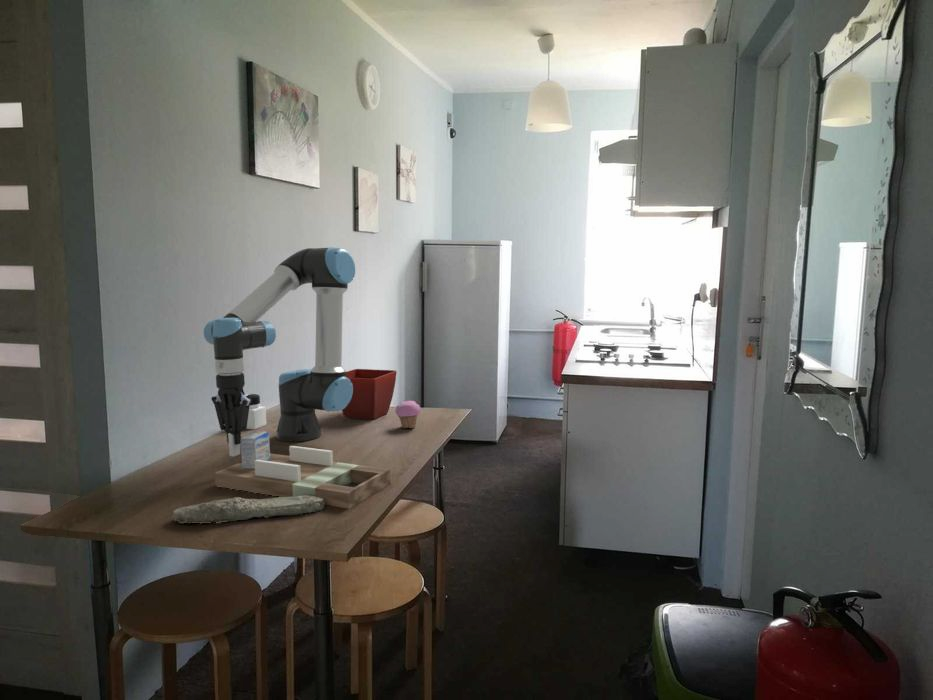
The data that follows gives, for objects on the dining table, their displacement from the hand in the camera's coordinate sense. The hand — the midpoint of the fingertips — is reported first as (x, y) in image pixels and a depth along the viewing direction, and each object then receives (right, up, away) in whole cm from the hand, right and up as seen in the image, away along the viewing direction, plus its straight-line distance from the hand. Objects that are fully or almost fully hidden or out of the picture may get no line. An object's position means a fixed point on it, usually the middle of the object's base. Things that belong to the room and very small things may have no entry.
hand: (235, 454), depth 189 cm
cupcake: (+45, +1, +52) cm, 68 cm away
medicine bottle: (-13, +1, +57) cm, 58 cm away
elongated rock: (+14, -10, -29) cm, 34 cm away
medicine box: (+7, -2, -3) cm, 8 cm away
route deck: (+22, -7, -9) cm, 24 cm away
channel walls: (+19, -3, -8) cm, 21 cm away
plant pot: (+27, +4, +72) cm, 76 cm away
